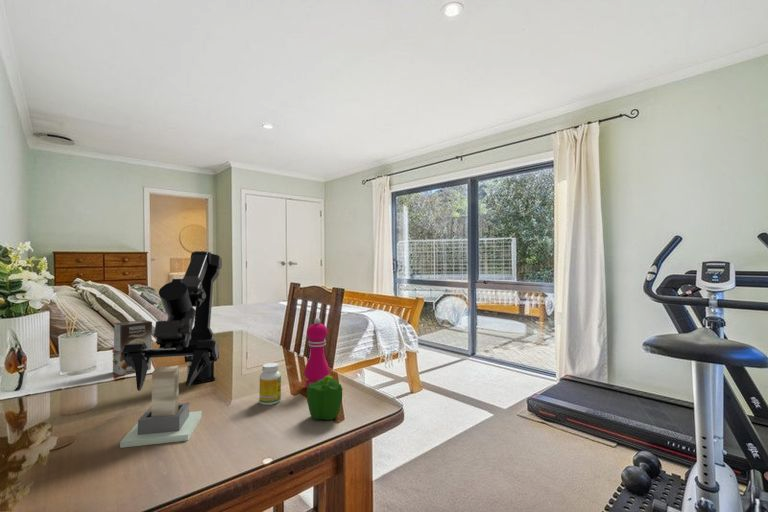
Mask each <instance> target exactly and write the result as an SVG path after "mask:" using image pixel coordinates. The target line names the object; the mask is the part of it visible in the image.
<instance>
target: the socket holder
mask: <svg viewBox="0 0 768 512" xmlns="http://www.w3.org/2000/svg"><path fill="white" fill-rule="evenodd" d="M202 412H203V411H202V410H199V411H198V410H197V411H190V402H181V403H179V402H178V412H177V414H176V415H169V416H158V417H151V415H152V405H151V406H150V407H149V408H148V409H147V410H146V411H145V412H144V413H143V414H142V415H141V416H140V417H139V419H137V423H136V424H135V425H134V426H133V427H132V429H130V431H129V432H128V433H127V434H126V435H125V436H124V437H123V438H122V439H121V440H120V441H119V442H120V443H119V444H120V446H119V447H120V449H122V448H129V447H130V448H131V447H139V446H140V447H141V446H148V445H157V444H158V445H159V444H166V443H167V444H168V443H176V442H177V443H178V442H187V441H189V439H190V438H191V436H192V434H193V433H194V430H195V429H196V427H197V426H198V424H199V422H200V421H201V419H202V416H203V415H202V414H203V413H202Z"/></svg>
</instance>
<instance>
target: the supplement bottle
mask: <svg viewBox="0 0 768 512" xmlns="http://www.w3.org/2000/svg"><path fill="white" fill-rule="evenodd" d="M279 367H280V366H279V363H278V362H267V363H264V364H263V365H262V369H261V370H262V372H261V373H260V374H259V389H258V390H259V397H258V401H259V403H260V404H261V405H264V406H273V405H276V404H279V402H281V399H282V397H281V396H282V392H281V391H282V384H281V383H282V374H281V372H280V371H279Z"/></svg>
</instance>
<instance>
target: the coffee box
mask: <svg viewBox="0 0 768 512" xmlns="http://www.w3.org/2000/svg"><path fill="white" fill-rule="evenodd" d="M152 335H153V321H151V320H145V319H143V320H133V321H123V322H114V329H113V353H112V354H113V357H112V358H113V359H112V372H113V373H114V374H116V375H118V376H123V375H128V374H133V373H136V372H135V369H133V368H132V367H130V366H127V364H126V363H125V361H124V359H123V357H122V356H121V354H120V353H121V351H122V348H123V346H125V345H126V344H128V343H145V344H146V346H147V348H152V341H153V340H152V339H153V336H152ZM147 365H148V370H151V369H152V358H150V359H149V362H148V363H147Z"/></svg>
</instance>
